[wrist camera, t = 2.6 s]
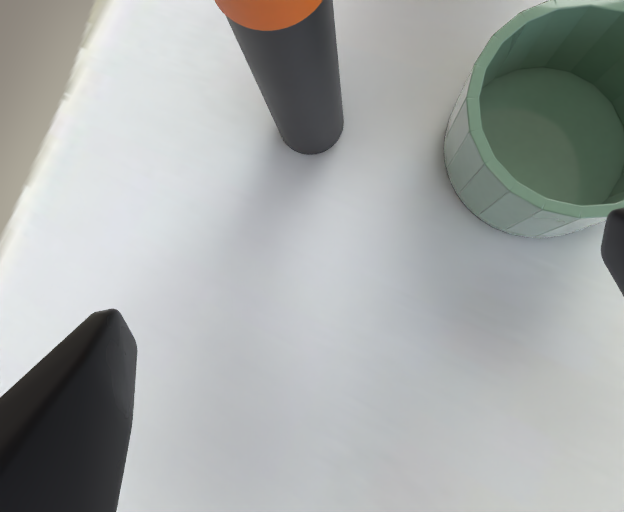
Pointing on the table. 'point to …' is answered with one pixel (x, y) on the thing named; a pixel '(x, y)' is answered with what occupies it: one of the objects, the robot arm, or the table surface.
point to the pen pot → (544, 121)
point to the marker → (293, 66)
